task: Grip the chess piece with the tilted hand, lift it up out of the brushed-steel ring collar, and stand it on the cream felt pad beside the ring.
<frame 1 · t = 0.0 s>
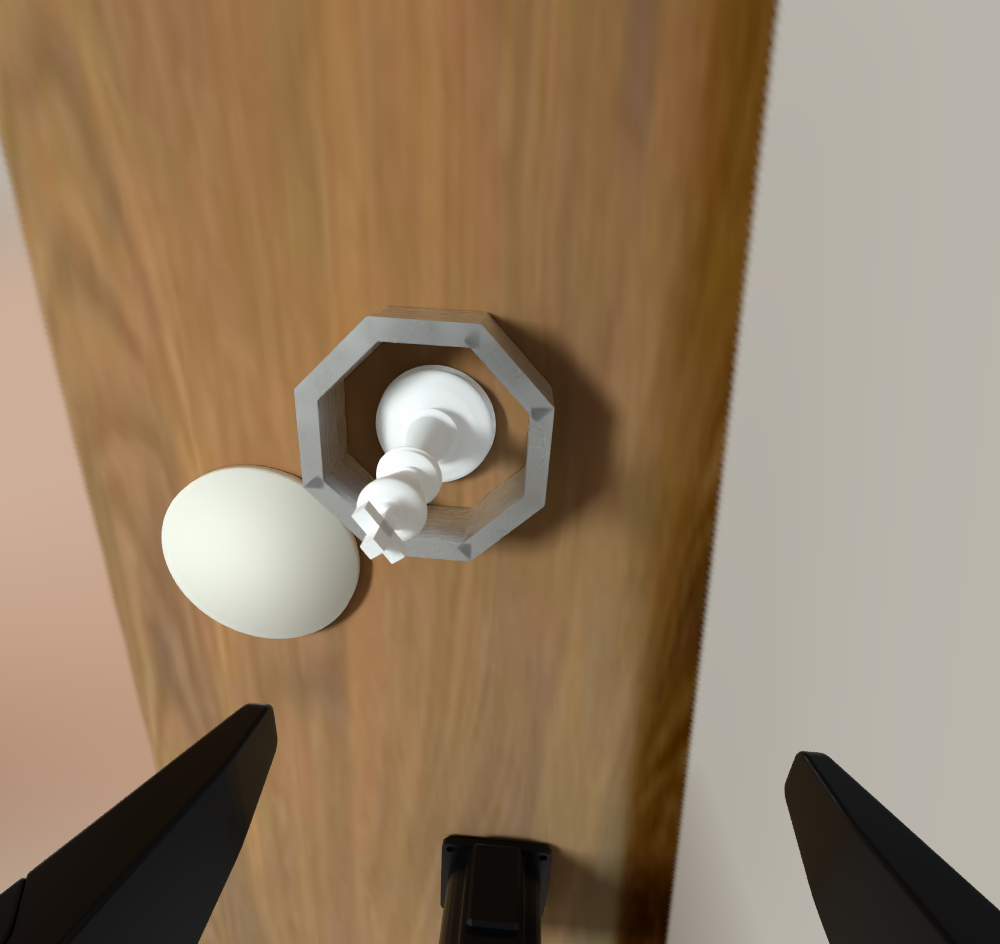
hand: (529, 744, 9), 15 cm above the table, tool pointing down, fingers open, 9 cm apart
chess piece: (437, 422, 23), resting in ring collar
felt pad: (265, 553, 26), on the table
ring collar: (436, 423, 23), on the table
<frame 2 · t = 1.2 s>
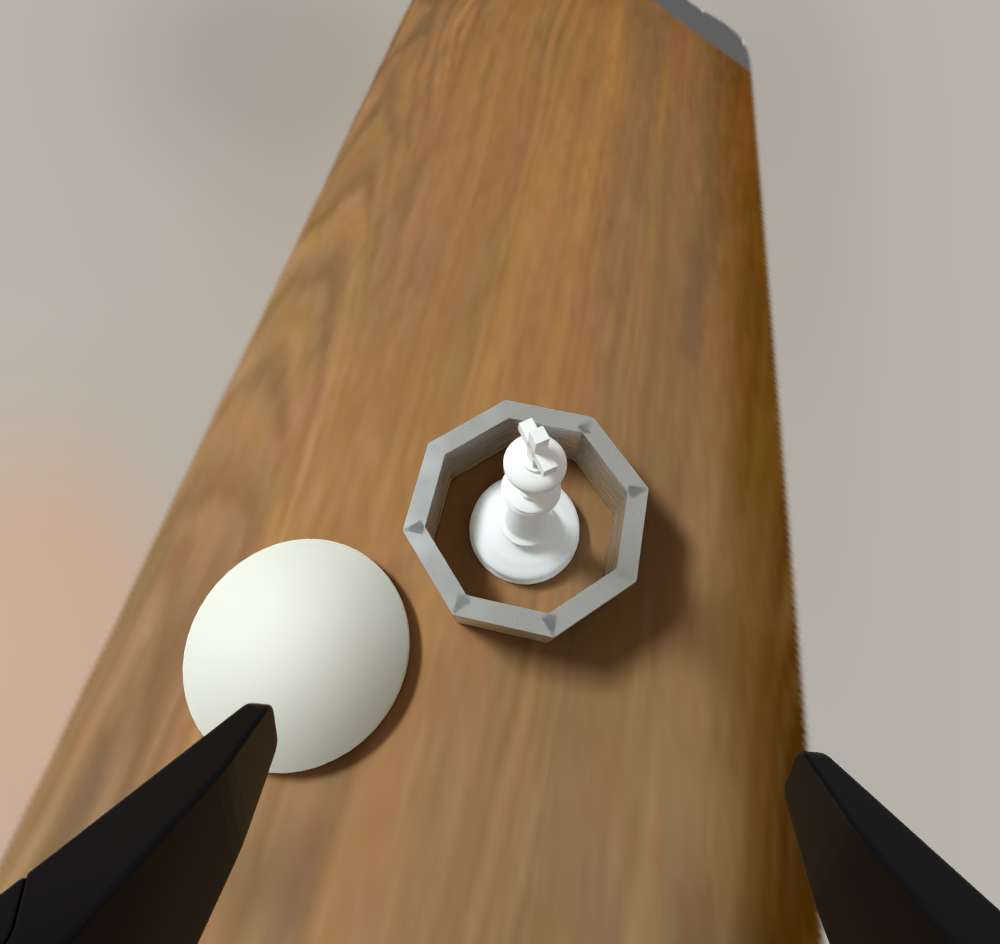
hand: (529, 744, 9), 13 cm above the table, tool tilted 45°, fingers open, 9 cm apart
chess piece: (524, 530, 25), resting in ring collar
felt pad: (301, 648, 23), on the table
ring collar: (524, 529, 25), on the table
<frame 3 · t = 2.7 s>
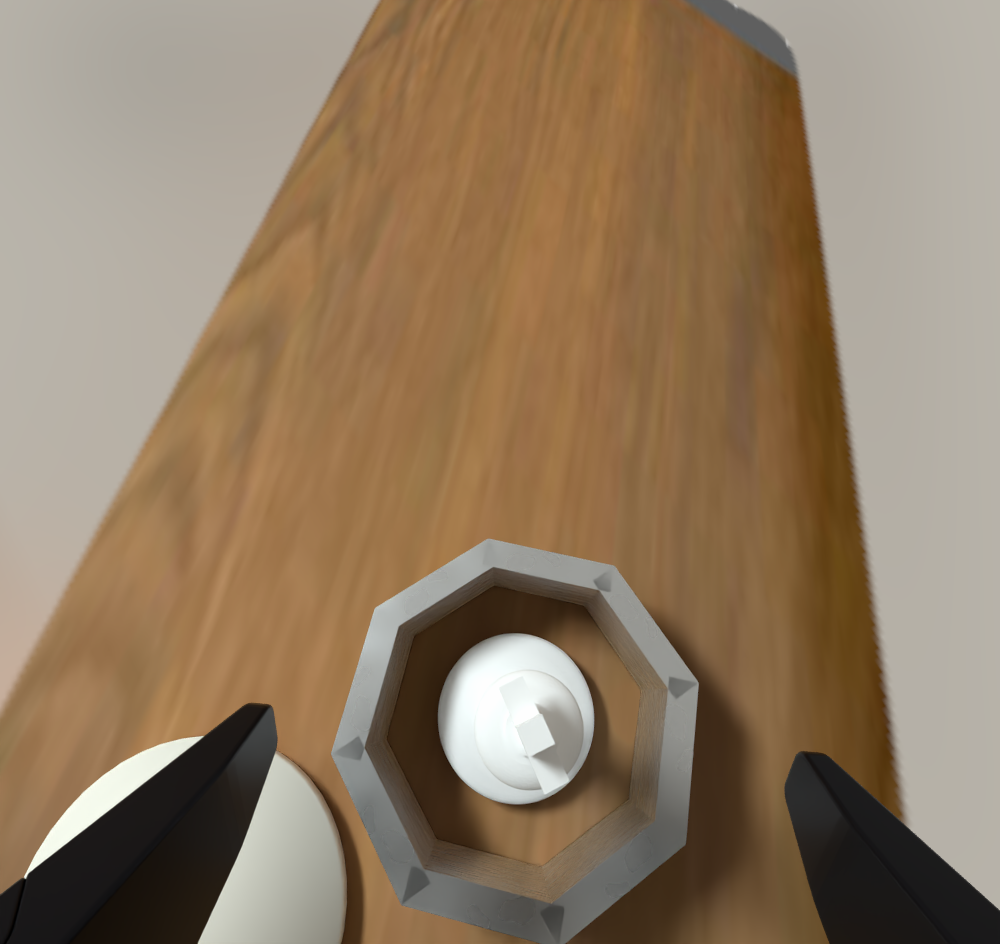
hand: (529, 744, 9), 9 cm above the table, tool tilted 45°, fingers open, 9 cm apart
chess piece: (515, 713, 18), resting in ring collar
felt pad: (186, 911, 15), on the table
ring collar: (515, 713, 17), on the table
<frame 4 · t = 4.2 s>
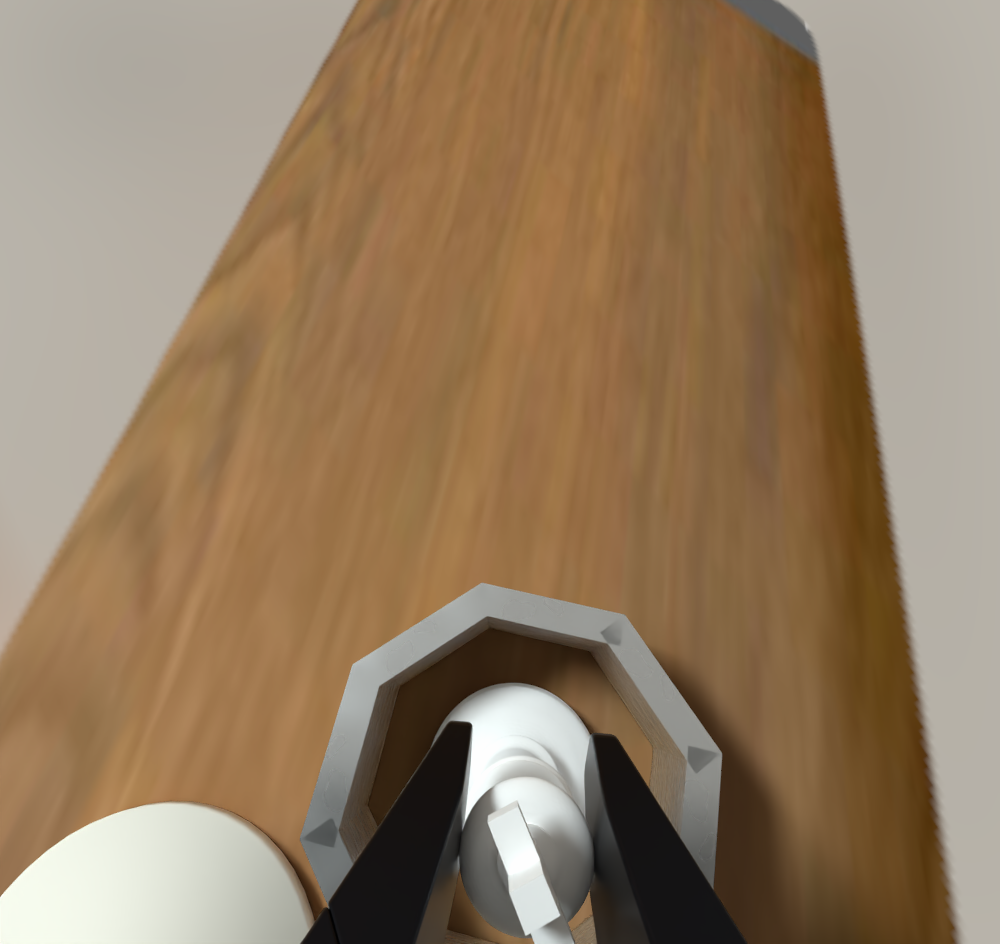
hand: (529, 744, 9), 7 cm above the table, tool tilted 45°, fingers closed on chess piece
chess piece: (513, 775, 16), resting in ring collar, touching gripper
ring collar: (513, 776, 15), on the table
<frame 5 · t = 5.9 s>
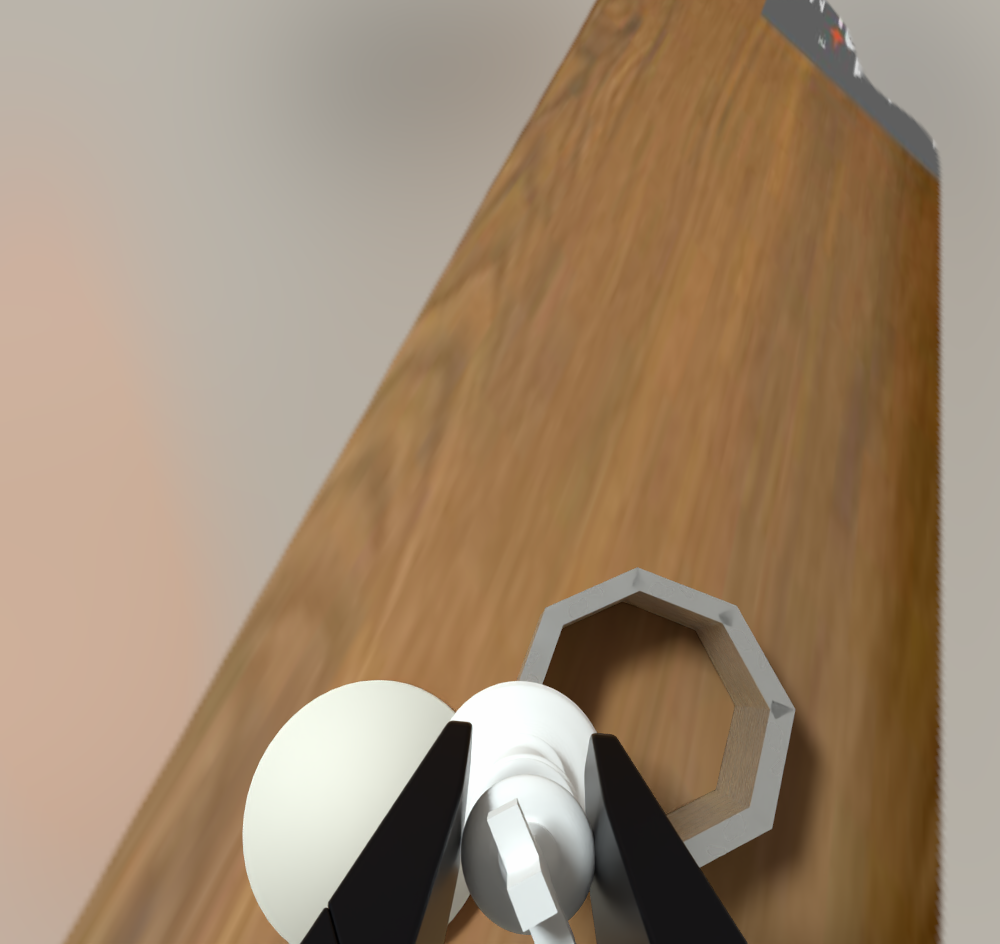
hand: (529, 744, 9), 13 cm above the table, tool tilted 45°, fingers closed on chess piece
chess piece: (520, 773, 16), point 6 cm above the table, touching gripper
felt pad: (371, 808, 21), on the table
ring collar: (631, 706, 22), on the table
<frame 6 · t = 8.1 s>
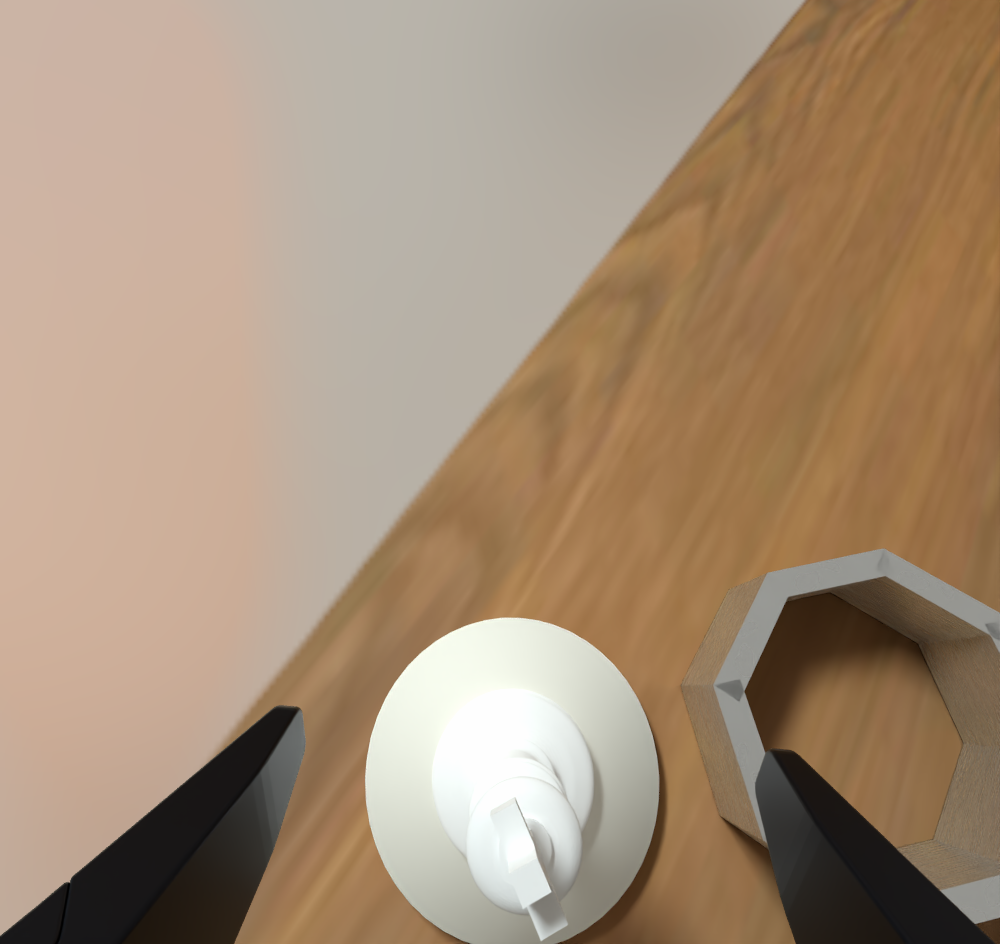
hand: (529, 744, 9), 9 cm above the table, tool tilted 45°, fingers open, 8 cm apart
chess piece: (512, 774, 17), resting on felt pad
felt pad: (511, 765, 17), on the table
ring collar: (833, 716, 18), on the table
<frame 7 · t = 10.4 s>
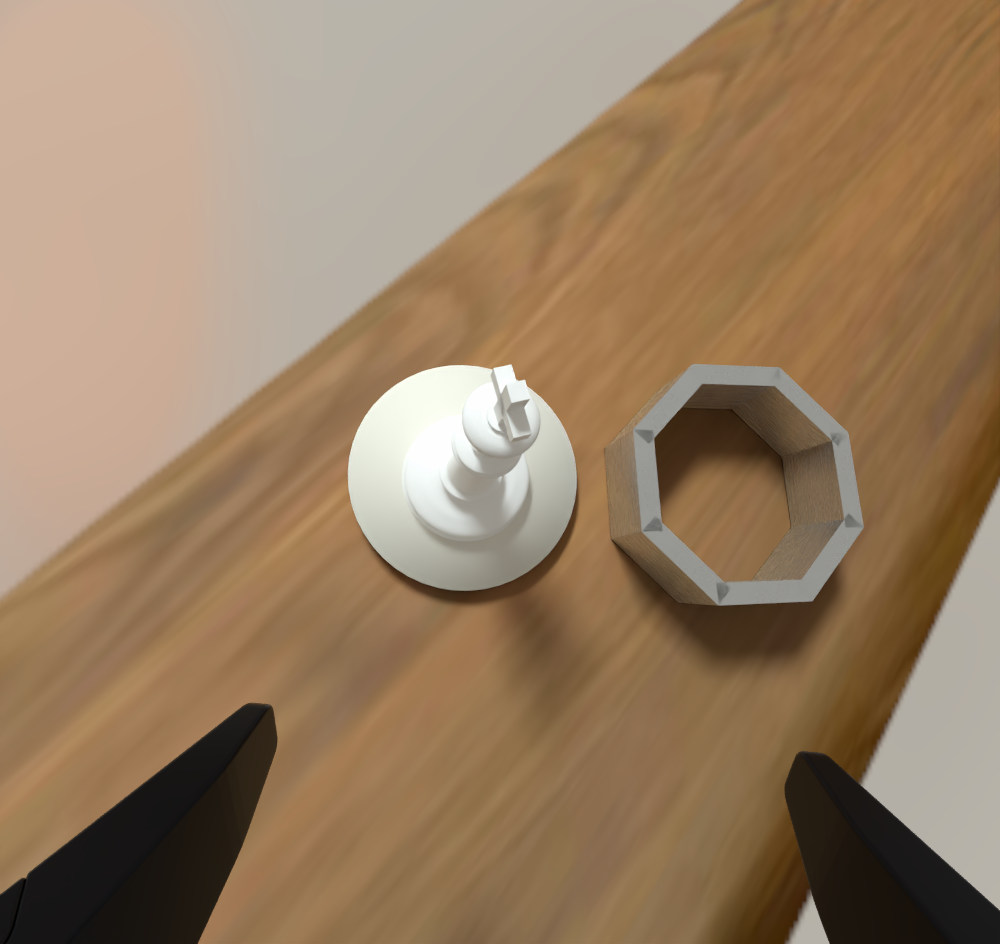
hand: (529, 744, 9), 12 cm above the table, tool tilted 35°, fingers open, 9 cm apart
chess piece: (465, 479, 22), resting on felt pad
felt pad: (464, 476, 22), on the table
ring collar: (708, 492, 24), on the table
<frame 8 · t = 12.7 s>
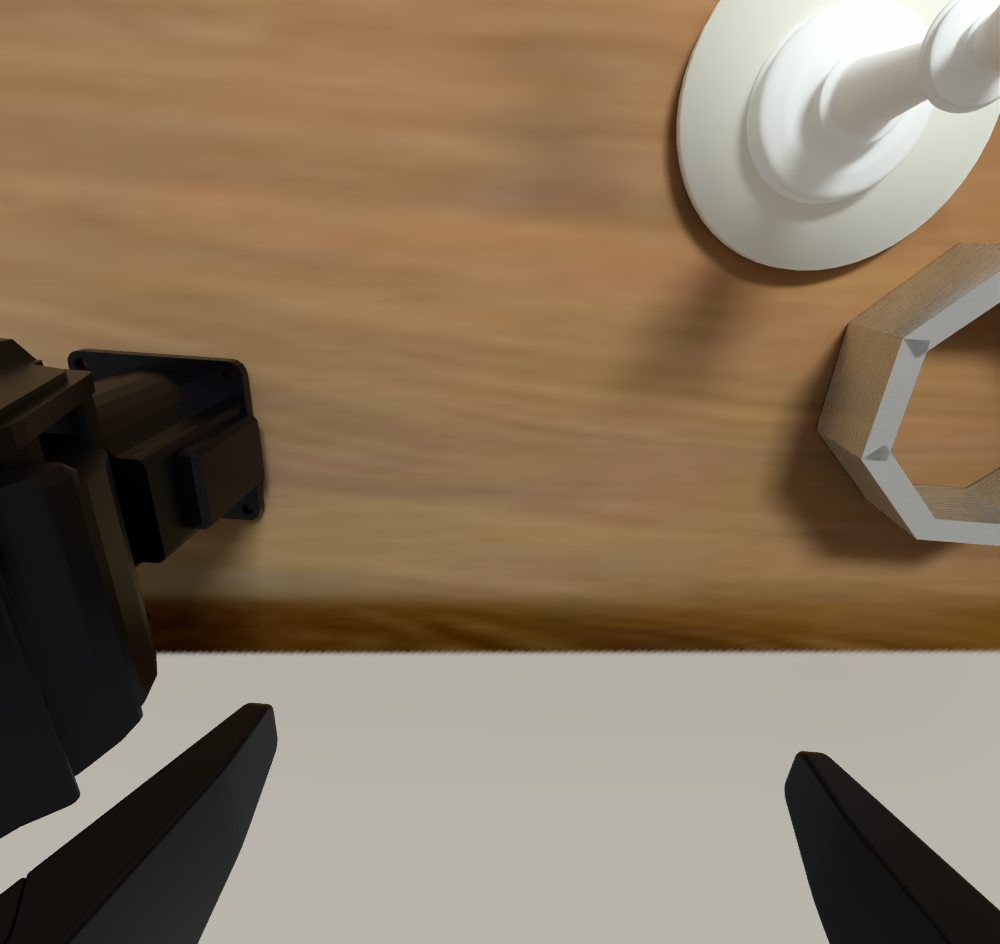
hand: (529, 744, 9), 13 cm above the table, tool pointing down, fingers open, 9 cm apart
chess piece: (830, 110, 16), resting on felt pad
felt pad: (829, 109, 16), on the table
ring collar: (963, 387, 19), on the table
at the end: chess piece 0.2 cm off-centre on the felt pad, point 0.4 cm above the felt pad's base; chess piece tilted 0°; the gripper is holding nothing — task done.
